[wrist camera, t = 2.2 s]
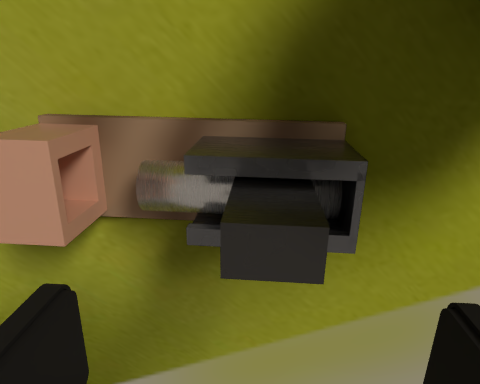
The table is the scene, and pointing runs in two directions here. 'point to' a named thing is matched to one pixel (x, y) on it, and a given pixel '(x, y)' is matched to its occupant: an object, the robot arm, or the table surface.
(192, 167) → the dark grey open box
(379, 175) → the table surface
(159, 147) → the base board
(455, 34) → the table surface
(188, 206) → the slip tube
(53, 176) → the socket block
